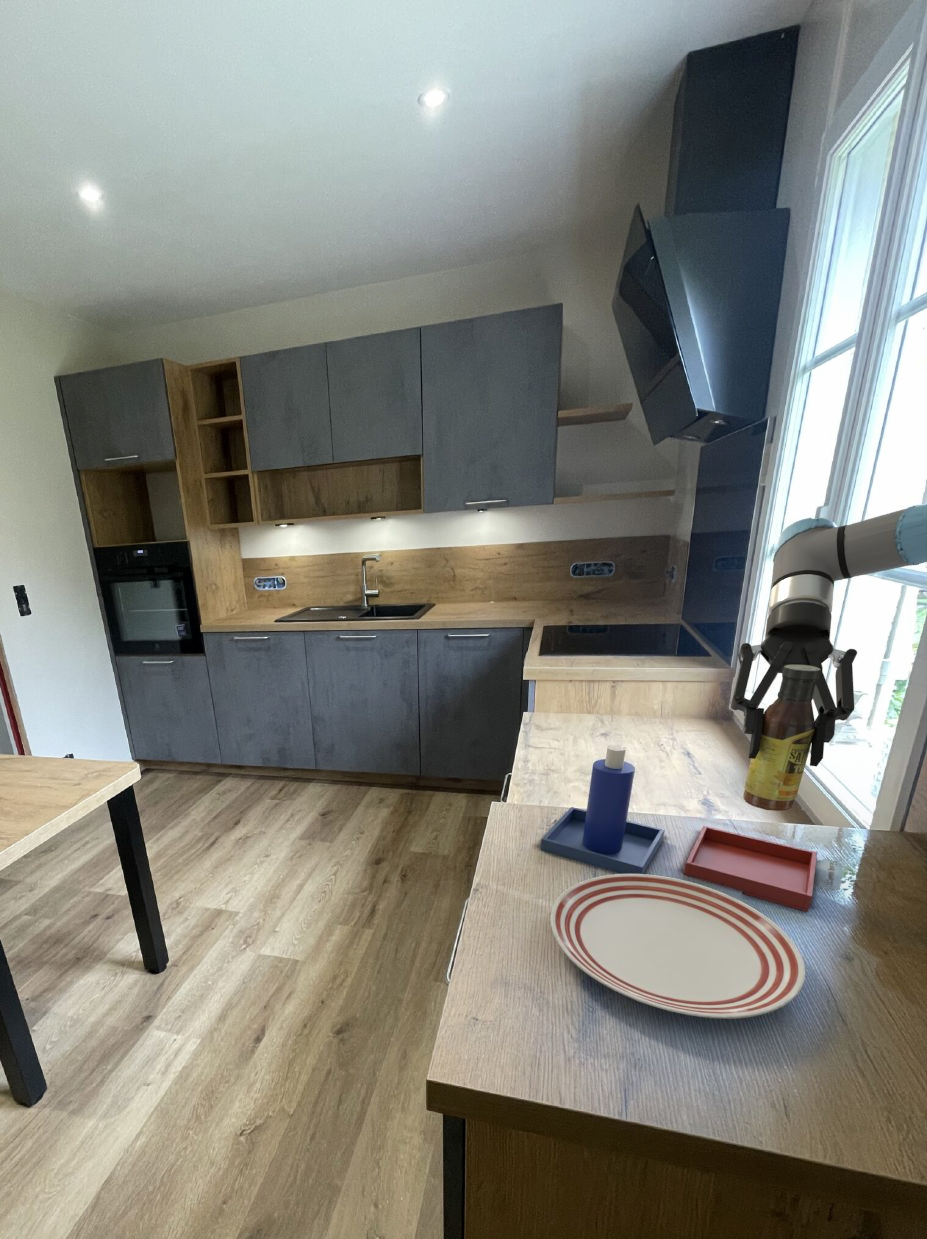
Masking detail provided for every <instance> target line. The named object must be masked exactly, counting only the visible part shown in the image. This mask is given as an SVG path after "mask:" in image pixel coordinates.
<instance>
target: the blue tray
mask: <svg viewBox="0 0 927 1239" xmlns="http://www.w3.org/2000/svg"><path fill="white" fill-rule="evenodd" d="M586 812H587V809H586V810H585V809H581V808H577V807H573V806H571V807H570V808H569V809H568V810H567V811H566V812H565V813H564V814H563V815H562V816H561V817H560V819H559V820H557V822H556V823H554V825H553V826H552V827H551V828H550V829H549V830H548V831H547V832H546V834H544V836H543V837H542V838H541V841H540V849H539V850H540V851H541V852H545V853H549V854H552V855H556V856H560V857H562V858H566V859H569V860H573V861H577V862H580V863H583V864H586V865H591V866H594V867H596V868H600V869H603V870H607V871H609V872H610V871H611V872H614V873H616V874H645V872H646V870H647V869H648V867H649V865H650V863H651V862H652V861H653V858H654V857H655V855H656V853H657V851H658V849H659V848H660V846H661V844H662V842H663V840H664V837H665V836H664V834H665V832H666V831H665V829H663V828H660V827H655V826H652V825H647V824H642V823H639V822H634V821H630V820H627V821H626V827H625V833H624V839H623V845H622V849H621V851H620V852H618V853H615V854H601V853H596V852H593V851H591V850H589V849H587V848H586V847H585V846H584V845H583V843H582V841H583V834H584V827H585V819H586Z"/></svg>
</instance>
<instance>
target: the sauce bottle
mask: <svg viewBox="0 0 927 1239" xmlns="http://www.w3.org/2000/svg"><path fill="white" fill-rule="evenodd" d="M820 672H821V669H820V668H817V667H814V666H809V665H786V666H784V668H783V672H782V673H781V683H780V687H779V691H778V692H777V699H775V700H774V702H773V703H772V704H769V705H768V707H767V708H766V709H764V715H763V724H762V733H761V741H760V750H759V752H758V754H757V756H756V758H755V759H752V758H750V762H749V766H748V770H747V774H746V779H745V782H744V792H743V796H742V798H743V800H744V802H745V803H746V804H748V805H750V806H751V807H754V808H758V809H761V810H765V811H776V812H777V811H778V812H779V811H780V812H783V811H787V810H790V809H792V807H793V805H794V803H795V800H796V799H797V797H798V793H799V790H800V785H801V783H802V778H803V776H804V771H805V769H806V768H805V767H806V765H807V761H808V757H809V754H810V751H811V745H812V739H813V736H814V732H815V729H816V727H815V720H816V719H815V715H814V709H813V708H814V707H813V702H812V701H813V697H812V696H813V692H814V688H815V685H816V681H817V680H818V679H819V676H820Z"/></svg>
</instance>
